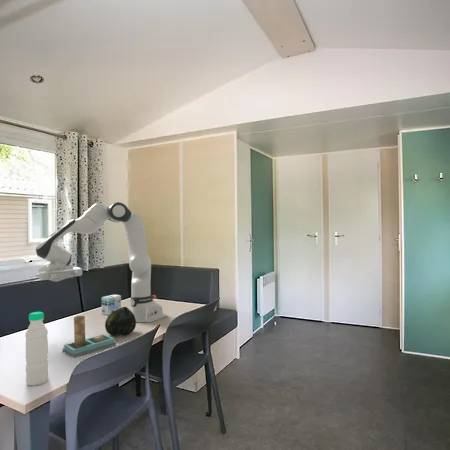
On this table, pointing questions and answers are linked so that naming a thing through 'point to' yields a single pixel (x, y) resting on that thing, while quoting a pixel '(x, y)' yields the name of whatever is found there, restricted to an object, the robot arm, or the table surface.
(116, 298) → the light bulb box
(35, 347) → the water bottle
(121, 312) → the squash
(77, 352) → the housing plate
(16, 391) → the table surface
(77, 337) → the oak post
